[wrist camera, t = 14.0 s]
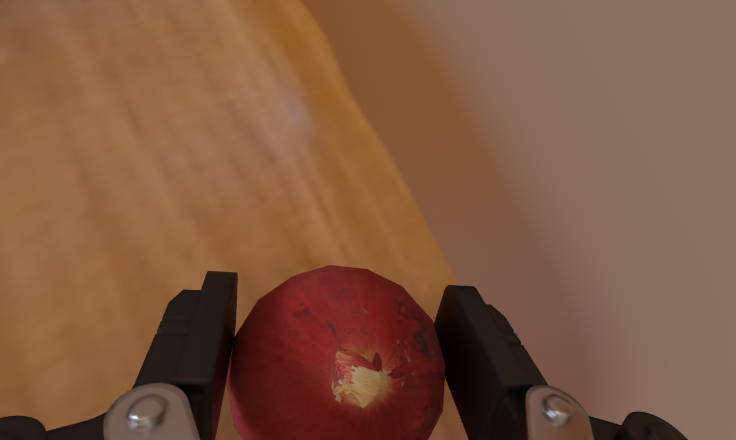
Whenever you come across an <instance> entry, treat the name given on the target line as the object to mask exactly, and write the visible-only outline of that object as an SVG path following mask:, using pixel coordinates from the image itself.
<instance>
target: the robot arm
mask: <svg viewBox="0 0 736 440" xmlns="http://www.w3.org/2000/svg"><path fill="white" fill-rule="evenodd" d="M237 282H238V274H237V273H236V272H218V271H208V272H207V274H206V277H205V280H204V283H203V286H202V289H201V290H182V291H181V292H180V293H179V294H178V295H177V296H176V297H175V298H173V299H172V300H171V301H170V302H169V304H168V306H167V308H166V311H165V313H164V315H163V318H162V321H161V322H160V325H159V327H158V330H157V334H155V337H154V339H153V341H152V344H151V346H150V349H149V351H148V353H147V356H146V358H145V360H144V363H143V365H142V367H141V370H140V372H139V375H138V377H137V379H136V382H135V384H134V386H133V388H132V390H130V391H128V392H126V393H125V394H123V395H122V396H120V397H119V398H118V399H117V400H116V401H115V402H114V403H113V404H112V405H111V406H110V408H109V409H108V411H107V412H106V413H104V414H102V415H100V416H97V417H95V418H93V419H90V420H87V421H83V422H80V423H76V424H72V425H68V426H64V427H61V428H57V429H53V430H49V431H46V429H45V427H44V426H43V424H42V423H41V422H39V421H38V420H36V419H34V418H32V417H27V416H8V417H3V418H0V440H215V437H216V432H217V427H218V422H219V416H220V411H221V406H222V400H223V395H224V390H225V384H226V379H227V374H228V369H229V363H230V358H231V353H232V347H233V341H234V335H235V326H236V308H237ZM434 327H435V331H436V334H437V337H438V341H439V344H440V347H441V351H442V354H443V357H444V361H445V364H446V367H445V378H446V381H447V383H448V386H449V389H450V391H451V394H452V397H453V399H454V402H455V405H456V407H457V410H458V413H459V415H460V418H461V420H462V423H463V426H464V428H465V431H466V434H467V436H468V439H469V440H688V439H687V438H686V437H684V435H682V433H680V432H679V431H678V430H677V429H676V428H675V427H673V426H672V425H670V424H669V423H667V422H666V421H664V420H662V419H661V418H659V417H657V416H655V415H652V414H649V413H645V412H632V413H630V414H628V416H627V417H626V419H625V420H624V422H623V423H622V425H618V424H615V423H611V422H608V421H605V420H601V419H597V418H594V417H590V416H588V415H587V413H586V412H585V410H584V409H583V407H582V406H581V405H580V404H579V403H578V402H577V401H576V400H575V399H574V398H573V397H571V396H570V395H569V394H567V393H566V392H564V391H562V390H560V389H558V388H555V387H552V386H549V385H548V384H547V382H546V381H545V379H544V378H543V376H542V375H541V373H540V372H539V370H538V368H537V367H536V365H535V364H534V362H533V360H532V359H531V357H530V356H529V354H528V352H527V351H526V349H525V348H524V346H523V345H521V341H520V340H519V338H518V337H517V335H516V334H515V333H514V331H513V329H512V327H511V326H510V324H509V322H508V321H507V319H506V318H505V317H504V316H503V315H502V314H501V313H500V312H499V311H497V310H496V309H495V308H494V307H493V306H492V305H487V304H485V302H484V301H483V299H482V297H481V296H480V294H479V293H478V291H477V289H476V288H475V287H473V286H457V285H448V286H447V287H446V288H445V290H444V293H443V296H442V300H441V303H440V306H439V309H438V313H437V316H436V319H435V322H434Z"/></svg>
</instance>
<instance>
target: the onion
mask: <svg viewBox="0 0 736 440" xmlns="http://www.w3.org/2000/svg"><path fill="white" fill-rule="evenodd" d="M445 367H446V364H445V361H444V357H443V354H442V351H441V347H440V344H439V341H438V337H437V334H436V331H435V327H434V324H433V321H432V319H431V318H430V317H429V316H428V315H427V314H426V313H425V312H424V310H423V309H422V308H421V307H420V306H419V305H418V304H417V303H416V302H415V301H414V299H413V298H412V297H411V296H410V295H409V294H408V292H407V291H406V290H405V289H404V288H403V287H402V286H400V285H398V284H396V283H394V282H392V281H390V280H388V279H386V278H384V277H382V276H380V275H378V274H376V273H374V272H372V271H370V270H368V269H360V268H351V267H342V266H332V265H329V266H325V267H322V268H319V269H315V270H312V271H309V272H305V273H302V274H298V275H295V276H293V277H291V278H290V279H288V280H287V281H285V282H284V283H282V284H281V285H279V286H278V287H277V288H275V289H274V290H272V291H271V292H269V293H268V294H266V295H265V296H263V297H262V298H260V299H259V300H258V301H257V303H256V304H255V306H254V307H253V309H252V310H251V312H250V314H249V315H248V317H247V318H246V320H245V321H244V323H243V325H242V326H241V328H240V329H239V331H238V332H237V334H236V336H235V337H234V341H233V347H232V353H231V358H230V364H229V369H228V375H227V381H226V383H227V388H228V393H229V399H230V404H231V409H232V414H233V419H234V425H235V427H236V429H237V430H238V432H239V433H240V435H241V436H242V438H243V439H244V440H428V439H429V437H430V435H431V433H432V431H433V429H434V427H435V425H436V423H437V421H438V419H439V417H440V415H441V413H442V411H443V398H444V382H445Z"/></svg>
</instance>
